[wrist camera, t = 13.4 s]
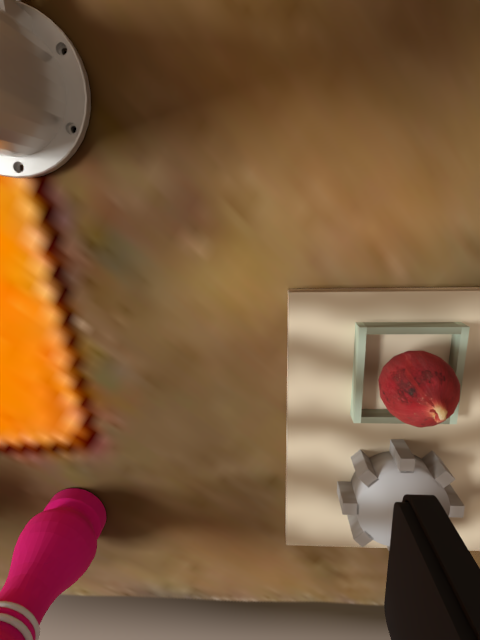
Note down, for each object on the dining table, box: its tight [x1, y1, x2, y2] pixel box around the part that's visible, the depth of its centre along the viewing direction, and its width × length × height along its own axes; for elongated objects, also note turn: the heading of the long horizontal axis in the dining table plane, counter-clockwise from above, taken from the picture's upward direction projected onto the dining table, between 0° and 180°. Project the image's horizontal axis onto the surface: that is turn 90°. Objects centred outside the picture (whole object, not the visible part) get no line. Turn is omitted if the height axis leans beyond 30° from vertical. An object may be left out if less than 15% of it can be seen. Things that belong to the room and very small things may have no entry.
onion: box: [378, 350, 460, 428], centre depth 32 cm, size 6×6×8 cm
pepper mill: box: [0, 488, 106, 640], centre depth 34 cm, size 7×7×20 cm
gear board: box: [285, 287, 480, 551], centre depth 36 cm, size 26×20×4 cm
